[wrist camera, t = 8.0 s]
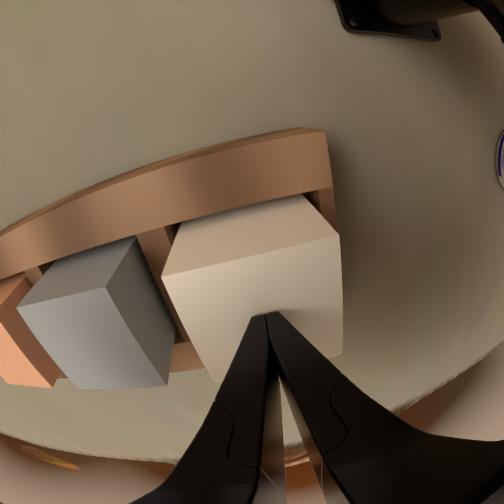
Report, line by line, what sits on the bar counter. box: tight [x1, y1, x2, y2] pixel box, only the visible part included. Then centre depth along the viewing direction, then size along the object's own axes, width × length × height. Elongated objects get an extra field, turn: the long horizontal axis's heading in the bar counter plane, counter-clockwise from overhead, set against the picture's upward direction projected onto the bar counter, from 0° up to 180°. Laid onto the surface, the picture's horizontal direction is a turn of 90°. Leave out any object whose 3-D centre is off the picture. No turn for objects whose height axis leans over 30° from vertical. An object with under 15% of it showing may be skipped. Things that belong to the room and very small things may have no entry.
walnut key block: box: [0, 127, 338, 378], centre depth 13 cm, size 21×10×4 cm, turn 102°
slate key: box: [16, 234, 177, 389], centre depth 11 cm, size 5×5×4 cm
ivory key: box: [161, 193, 343, 383], centre depth 10 cm, size 5×5×4 cm
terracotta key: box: [0, 271, 61, 388], centre depth 11 cm, size 5×5×4 cm
